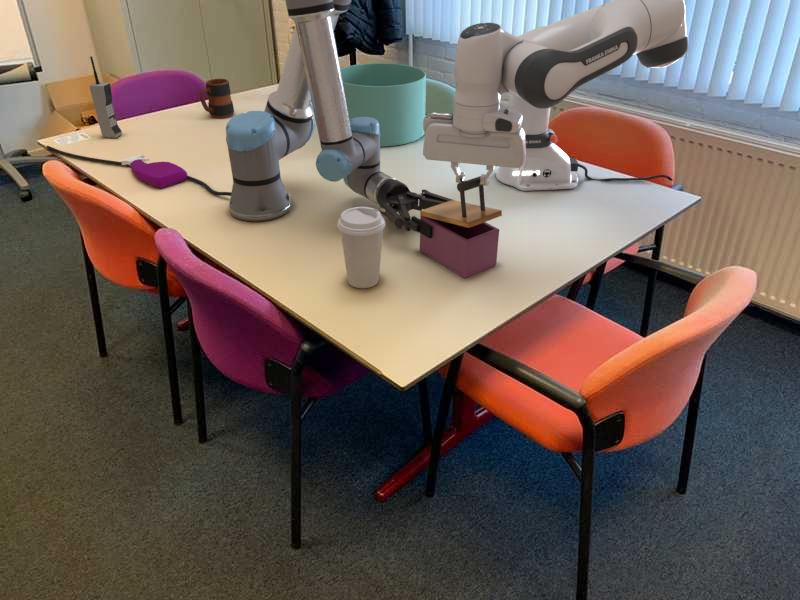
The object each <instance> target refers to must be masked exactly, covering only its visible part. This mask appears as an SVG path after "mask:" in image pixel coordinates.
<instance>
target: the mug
mask: <svg viewBox="0 0 800 600" xmlns="http://www.w3.org/2000/svg"><path fill="white" fill-rule="evenodd" d="M205 94H206V95H207V101H208V102H206V99H205ZM231 94H232V91H231V86H230V81H229V80H228V79H226V78H213V79H209V80H207V81H206V83H205V88H203V89H201V90H200V92H199V100H200V103H201V105H202V108H203V110H205V112H206V113H209V115H210V117H212V118H215V119H226V118H229V117H232V116H233V115H234V113H235V108H234V102H233V100H232V96H231Z"/></svg>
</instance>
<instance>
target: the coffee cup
mask: <svg viewBox="0 0 800 600" xmlns="http://www.w3.org/2000/svg"><path fill="white" fill-rule="evenodd" d="M336 227H337V229H338V230H339V231H340V237H341V244H342V251H343V256H344V263H345V264H344V265H345V271H346V277H347V283H348V284H349V286H351V287H353V288H357V289H369V288H372V287H374V286H376V285H378V283H379V281H380V269H381V257H382V247H383V246H382V245H383V231H384V229H385V228H386V220H385V218H384V217H383V215H382V214H381V213H380V210H378V209H377V208H374V207H369V206H355V207H350V208H347V209H345V210H344V211H342V212H341V214H340V217H339V218H338V221H337V225H336Z"/></svg>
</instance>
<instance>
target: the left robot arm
mask: <svg viewBox="0 0 800 600" xmlns="http://www.w3.org/2000/svg"><path fill="white" fill-rule="evenodd" d="M284 2H285V6H286V11H287V15H288V18H289V19H290V20H292V21H293V22H294V24H295V26H294V30H293V34H292V36H291V41H290V44H289V47H288V51H287V55H286V58H285V61H284V64H283V68H282V72H281V74H280V79H279V82H278V85H277V89H276V90H275V91H272V92H270V93H269V94H268V98H267V101H266V104H265V108H264V111H263V110H250V111H247V112H241V113H238V114H237V115H234V116H233V117H231V118H230V119H229V120H228V122H227V123H226V126H225V135H226V136H225V141H226V145H227V151H228V157H229V165H230V169H231V170H230V171H231V176H232V187H231V191H216V190H214V189H212V188H211V186H209V185H208V183H206V182H205V181H202V180H200V179H198V178H195V177H192V176H189V175H187V178H186V180H189V181H190V182H191V181H192V182H194V183H197V184H199V185H201V186H202V187H204V189H206V190H207V191H208V192H209V193H211V194H213V195H215V196H229V197H230V200H229V212H230V215H231V216H232V217H233V218H235V219H238V220H241V221H245V222H252V223H253V222H267V221H273V220H276V219H278V218H281V217H283V216H285V215H286V214H288V213H289V212H290V211H291V208H292V203H291V194H288V192H287V190H286V187H285V184H284V183H283V180H282V177H281V168H280V160H282V159H283V158H285V157H286V156H288V155H290V154H293V152H295V151H297V150H300V149H302V148H303V147H304V146H305V145H306V144H307V143H308V142H309V141H310V140H311V139H312V137H313V135H314V132H315V128H316V129H317V133H318V139H319V143H320V149H321V151H320V152H319V154H317V157H316V159H315V167H316V171H317V172H318V174H319V175H320V176H321V177H322V178H323V179H325V180H326V181H328V182H333V183H335V182H339V181H341V180H343V182H344V185H346V187H347V188H349V189H350V190H351V191H353V192H354V193H356V194H358V195H360V196H362V197H364V198H366V199H367V200H369V201H371V202H372V203H374V204H376V205H377V206H379V212H380V213H381V216H384V217H386V218H387V219H388V221H390V223H391V224H392V225H393V226H394V227H395V228H396V229H397V230H401V229H403V228H404V231H405V232H409V231H411V230H413V231H414V232H418V234H420V233H421V234H423V235H424V236H426V237H428V238H429V239H430V238H432V231H433V226H431V225H429V224H427V223H426V222H424V221H422V220H420V218H419V217H417V216H415V215H413V216H411V215H410V213H409V212H410V211H412V210H413V211H419V212H420V211H421V210H424V209H427V208H430V207H433V206H436V205H439V204H442V203H445V202H448V201H451V200H453V199H452V198H450V197H446V196H443V195H439V194H437V193H433V192H430V191H429V190H427V189H421V192H420V193H417V192H415V191H414V192H413V191H411V190H410V189H409V187H408V185H407V184H405V183H403V181H399V180H398V179H396V178H395V177H392V176H390V175H389V174H386V173H384V172H383V171H381V147H380V131H379V123H378V121H377V120H376V119H374V118H371V117H357V118H353V119H351V120H349V115H348V109H347V104H346V98H345V92H344V87H343V81H342V76H341V70H340V69H341V65H340V60H339V54H338V48H337V42H336V37H335V32H334V31H335V29H336V25H337V23H338V20H339V16H340V15H341V14H343V13H345V12H348V10H349V8H350V6H351V3H352V0H284ZM313 117H314V118H313ZM315 125H316V126H315ZM45 148H46V149H47V150H50V151H52V152H54V153H57V154H60V155H63V156H66V157H70V158H75V159H78V160H79V159H80V160H82V161H83V160H84V161H90V162H95V163H102V164H108V165H109V164H110V165H116V166H122V167H123V166H124V167H130V165H128V164H127V165H122V163H121V161H117V160H109V159H103V158H102V159H101V158H95V157H90V156H84V155H79V154H75V153H70V152H66V151H63V150H60V149H58V148H55V147H53V146H51V145H46V147H45ZM130 168H131V167H130Z"/></svg>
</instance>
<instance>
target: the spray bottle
mask: <svg viewBox="0 0 800 600" xmlns="http://www.w3.org/2000/svg"><path fill="white" fill-rule="evenodd" d="M145 161H149V163H147V162H145ZM120 162H121V163H122V165H127V164H128V165H130V169H131V172H132V173H133V175H134V176H135V177H136V178H137V179H139V180H141V181H142V182H143V183H145V184H148V185H150V186H153V187H156V188H160V189H163V188H166V187H169V186H173V185H176V184H178V183H182V182H184V181H186V180H187V179H186V178H187V176H188V172H187V171H186V170H185V169H184V168H183V167H181V166H180V165H177V164H175V163H174V162H170V161H154V162H150V158H146V157H145V154H144V153H142V154H136V155H133V156H129V157H127V158H124V159H121V160H120ZM122 165H121V166H122Z"/></svg>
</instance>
